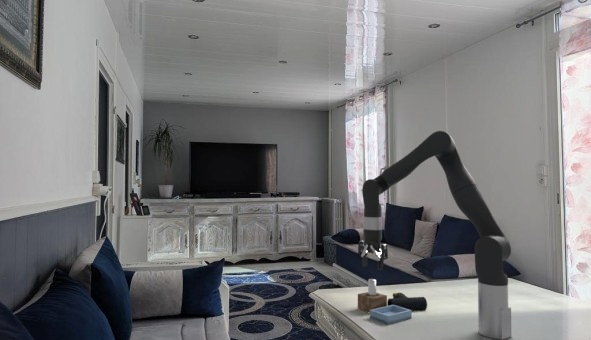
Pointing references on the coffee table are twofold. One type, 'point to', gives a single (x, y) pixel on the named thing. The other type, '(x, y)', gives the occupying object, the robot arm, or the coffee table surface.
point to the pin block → (371, 301)
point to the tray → (390, 314)
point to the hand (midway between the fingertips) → (372, 268)
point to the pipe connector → (408, 302)
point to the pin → (371, 287)
